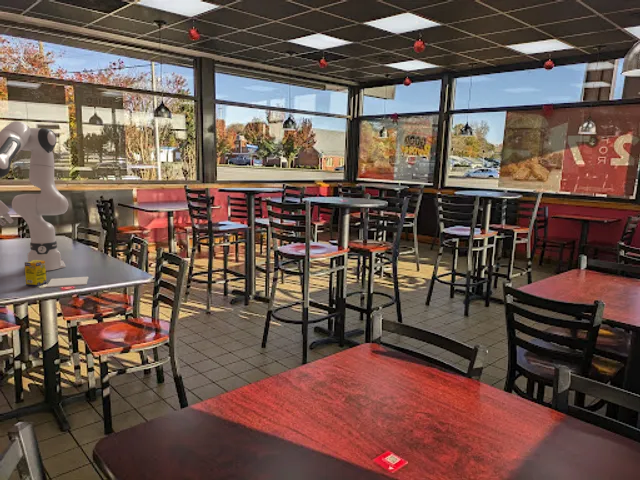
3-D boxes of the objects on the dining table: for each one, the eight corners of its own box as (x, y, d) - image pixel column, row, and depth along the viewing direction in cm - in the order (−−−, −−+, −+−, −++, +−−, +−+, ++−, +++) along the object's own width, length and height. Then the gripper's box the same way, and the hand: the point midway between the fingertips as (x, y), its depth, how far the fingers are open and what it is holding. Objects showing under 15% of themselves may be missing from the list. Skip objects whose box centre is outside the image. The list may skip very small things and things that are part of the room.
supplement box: (37, 286, 212) (35, 263, 211) (25, 285, 214) (23, 262, 212) (47, 283, 218) (45, 260, 216) (36, 282, 219) (34, 259, 217)
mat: (51, 280, 224) (51, 278, 224) (88, 277, 230) (88, 276, 230) (46, 287, 211) (46, 286, 211) (86, 284, 217) (86, 283, 217)
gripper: (-3, 190, 195) (22, 216, 201) (-17, 197, 208) (7, 221, 215) (-17, 199, 191) (9, 226, 197) (-30, 206, 204) (-5, 230, 211)
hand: (8, 223), depth 206 cm, fingers open, 8 cm apart
